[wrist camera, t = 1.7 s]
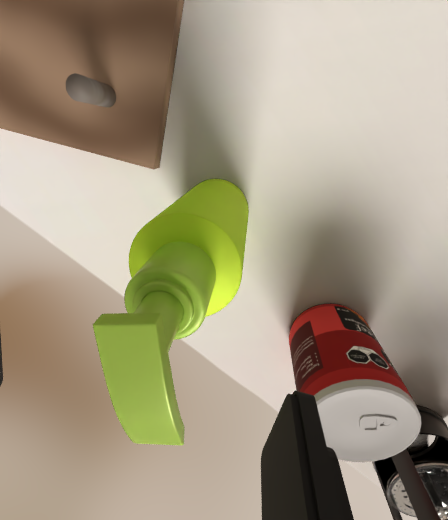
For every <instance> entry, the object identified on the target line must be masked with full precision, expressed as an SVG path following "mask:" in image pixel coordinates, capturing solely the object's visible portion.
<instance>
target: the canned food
mask: <svg viewBox="0 0 448 520" xmlns="http://www.w3.org/2000/svg"><path fill="white" fill-rule="evenodd" d="M289 345H290V351H291V358H292V364H293V371H294V377H295V384H296V390H297V391H299V392H303V393H307V394H311V395H313V396H314V397H315V399H316V404H317V408H318V412H319V416H320V420H321V425H322V429H323V433H324V437H325V441H326V446H327V447H330V448H332V449H333V450H334V451H335V453H336V456H337V458H338V460H342V461H348V462H372V461H378V460H382V459H386V458H388V457H391V456H394V455H396V454H398V453H400V452H401V451H403V450H405V449H406V448H407V447H408V446H410V445H411V444H412V443H413V441H414V440H415V439H416V438H417V436H418V434H419V432H420V428H421V416H420V413H419V411H418V409H417V407H416V404H415V402H414V400H413V399H412V397H411V395H410V394H409V392H408V390H407V388H406V386H405V385H404V383H403V381H402V380H401V378H400V377H399V375H398V373H397V372H396V370H395V368H394V367H393V365H392V363H391V362H390V360H389V359H388V357H387V355H386V354H385V352H384V350H383V349H382V347H381V345H380V344H379V342H378V340H377V339H376V337H375V336H374V334H373V332H372V331H371V329H370V327H369V326H368V324H367V322H366V321H365V320H364V319H363V317H362V316H360V315H359V314H358V313H356V312H355V311H353V310H352V309H350V308H348V307H346V306H342V305H339V304H322V305H317V306H314V307H311V308H309V309H307V310H306V311H304V312H303V313H301V314H300V315H299V316H298V317H297V318H296V320H295V321H294V323H293V325H292V327H291V330H290V334H289Z"/></svg>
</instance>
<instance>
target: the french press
mask: <svg viewBox="0 0 448 520" xmlns="http://www.w3.org/2000/svg"><path fill="white" fill-rule="evenodd" d="M416 407H417V409H418V411H419V413H420V416H421V428H420V432H419V434H429V435H435V436H436V437H435V440H434V442H433V443H432V444H431V445H430V446H429V447H428V448H427V449H425V450H423V451H422V452H419V453H416V454H412V455H409V453H408V451H407V449H405V450H403V451H401V452H400V453H398V454H396V455H394V456H391V457H388V458H386V459H382V460H378V461H372V463H373V466H374V469H375V471H376V472H377V475H378V478H379V480H380V483H381V486H382V489H383V492H384V494H385V497H386V500H387V502H388V505H389V508H390V511H391V514H392V516H393V519H394V520H402V517H401V515H400V512H402V513H404V514H406V515H409V516H413V517H417V518H418V520H441V519H440V518H443V520H448V519H447V517H448V427H447V425H446V423H445V421H444V420H443V419H442V417H441V416H439V415H438V414H437V413H436V412H434V411H432V410H430V409H428V408H425V407H422V406H416ZM399 511H400V512H399Z"/></svg>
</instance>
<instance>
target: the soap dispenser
mask: <svg viewBox="0 0 448 520" xmlns="http://www.w3.org/2000/svg"><path fill="white" fill-rule="evenodd" d="M248 212H249V211H248V204H247V200H246V198H245V196H244V194H243V193H242V191H241V190H240V189H239V188H238V187H237V186H235V185H234V184H233V183H231V182H229V181H226V180H222V179H209V180H205V181H203V182H201V183H199V184H198V185H196V186H195V187H194V188H192V189H191V190H190V191H189V192H187V193H186V194H185V195H183V196H182V197H181V198H179V199H178V200H177V201H176V202H174V203H173V204H172V205H170V206H169V207H168V208H167V209H165V210H164V211H163V212H161V213H160V214H159V215H158V216H156V217H155V218H154V219H152V220H151V221H150V222H148V223H147V224H146V225H145V226H144V227H143V228H142V229H141V230H140V231H139V232H138V234H137V235H136V237H135V238H134V240H133V242H132V245H131V248H130V253H129V269H130V274H131V277H132V279H131V280H130V282H129V283H128V286H127V288H126V291H125V306H126V310H127V312H128V313H121V314H102V315H101V316H100V317H99V318H98V319H97V320H96V322H95V323H94V324H93V328H94V333H95V337H96V342H97V346H98V351H99V355H100V359H101V364H102V368H103V372H104V376H105V380H106V384H107V387H108V391H109V394H110V398H111V401H112V404H113V407H114V409H115V412H116V414H117V417H118V419H119V421H120V423H121V425H122V427H123V429H124V430H125V432H126V433H127V435H128V437H129V438H130V439H131V441H132V442H133V443H139V444H162V445H163V444H164V445H183V444H184V425H183V422H182V419H181V416H180V413H179V409H178V405H177V400H176V395H175V390H174V385H173V379H172V373H171V367H170V361H169V355H168V352H169V349H170V347H171V344H172V342H173V340H175V339H181V338H184V337H187V336H189V335H191V334H192V333H194V332H195V331H196V330H197V329H198V328H199V327H200V326H201V324H202V323H203V321H204V318H205V317H206V316H209V315H212V314H214V313H216V312H218V311H220V310H221V309H223V308H224V307H225V306H226V305H227V304H229V302H230V301H231V300H232V299H233V298H234V296H235V295H236V293H237V291H238V289H239V286H240V283H241V278H242V269H243V260H244V251H245V241H246V232H247V223H248Z"/></svg>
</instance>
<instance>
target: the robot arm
mask: <svg viewBox="0 0 448 520" xmlns="http://www.w3.org/2000/svg"><path fill="white" fill-rule="evenodd" d="M2 371H3V370H2V352H1V336H0V385H1V384H2V381H3V372H2ZM261 486H262V487H261V492H262V520H354V519H353V515H352V511H351V507H350V504H349V500H348V496H347V492H346V488H345V485H344V481H343V477H342V474H341V470H340V466H339V462H338V458H337V456H336V453H335V451H334V450H333V449H332V448H330V447H327V446H326V441H325V437H324V433H323V429H322V425H321V420H320V416H319V412H318V408H317V404H316V399H315V397H314V396H313V395H311V394H307V393H303V392H299V391H294V392H293V394H287V396H286V398H285V400H284V403H283V405H282V407H281V409H280V412H279V414H278V417H277V418H276V421H275V423H274V425H273V427H272V430H271V433H270V434H269V437H268V439H267V441H266V443H265V446H264V448H263V451H262V456H261Z"/></svg>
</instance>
